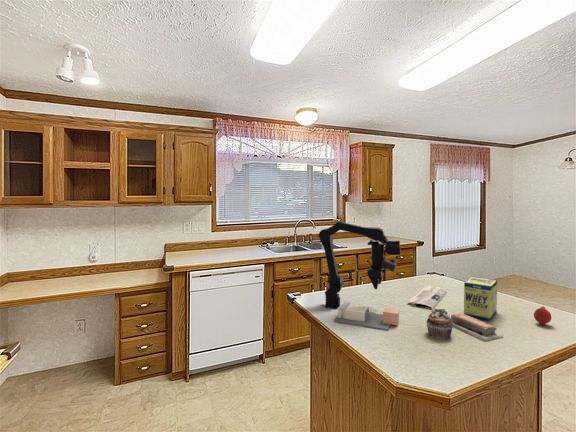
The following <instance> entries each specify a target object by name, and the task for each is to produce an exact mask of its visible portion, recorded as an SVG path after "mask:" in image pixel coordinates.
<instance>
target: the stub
mask: <svg viewBox="0 0 576 432" xmlns="http://www.w3.org/2000/svg"><path fill="white" fill-rule="evenodd" d="M382 314H383V323H385V324H391V325H393V326H399V324H400V310H399V309H394V308H387V307H385V308H384V309H383V311H382Z"/></svg>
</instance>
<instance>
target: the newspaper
mask: <svg viewBox="0 0 576 432" xmlns="http://www.w3.org/2000/svg"><path fill="white" fill-rule="evenodd" d="M447 292H448V291H447V290H446V289H445V288H443V287H438V286H432V285H429V284H428V283H427V284H425V286H423V288H422V289H421V290H420V291H419V292H418V293H417V294H416V295H414V296H413V297H412V298H410V299H408V301H407V303H408V304H409V303H410V306H411V307H416V306H418V305H419V304H420V305H424V306H425V307H424V309H428V310H431V311H432V309H436V306H438V304H439V303H440V301H441V300H442V299H443V298H444V297H445V295H446V294H447Z"/></svg>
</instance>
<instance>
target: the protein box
mask: <svg viewBox="0 0 576 432" xmlns="http://www.w3.org/2000/svg"><path fill="white" fill-rule="evenodd" d="M463 289H464V290H463V291H464V292H463V314H465V315H468V316H470V317H473V318H475V319H477V320H480V321H484V322H485V321H486V322H491V320H492V319H493V318H494V316H495V315H496V314H497V309H498V308H497V306H498V280H497V279H493V278H485V277H479V276H472V277H470V278H469V279H468V280H466V281H465V282H464V286H463Z"/></svg>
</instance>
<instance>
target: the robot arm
mask: <svg viewBox="0 0 576 432" xmlns="http://www.w3.org/2000/svg"><path fill="white" fill-rule="evenodd" d="M339 231H344V232H348V233H351V234H355V235H361V236H364V237H366V238H368V239H370V240H369V241H368V242H367V244H366V245H367V246H371V250H370V251H371V255H370V260H371V265H370V267H369V269H368V270H367V271H366V274H367V276H368V278H369V280H370V282H371V284H372V287H373V289H374V290H378V285H381V284H382V279H383V275H384V273H386V271H387V270H389V271H390V272H393V273H394V272H395V270H396V267H397V265H398V264H397V263H396V260H395V259H393V258H391V259H390V260H389V259H386V256H385V253H386V254H387V255H388V256H401V241H400V240H388V237H386V236H385V231H384V229H382V228H381V227H371V226H369V227H367V226H361V225H356V224H352V223H349V222H348V223H347V222H344V221H337V222H336V223H334V224H333V225H332V226H330V227H328V228H323V229H321V230H320V231H319V232H318V238H319V241H320V243H321V245H322V247H323V250H324V254H325V259H326V264H327V269H328V274H329V276H328V277H329V278H328V279H329V280H328V287H327V288H326V290H325V291H324V294H325V305H324V308H328V309H336V310H338V309H339V307H340V306H341V297H340V291H341V290H342V289H343V288H344V284H345V282H344V279H343V277H344V276H343V275H340V274H339V272H338V267H337V262H336V257H335V252H334V247H333V246H334V245H333V242H334V234H336V233H338V232H339Z"/></svg>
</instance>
